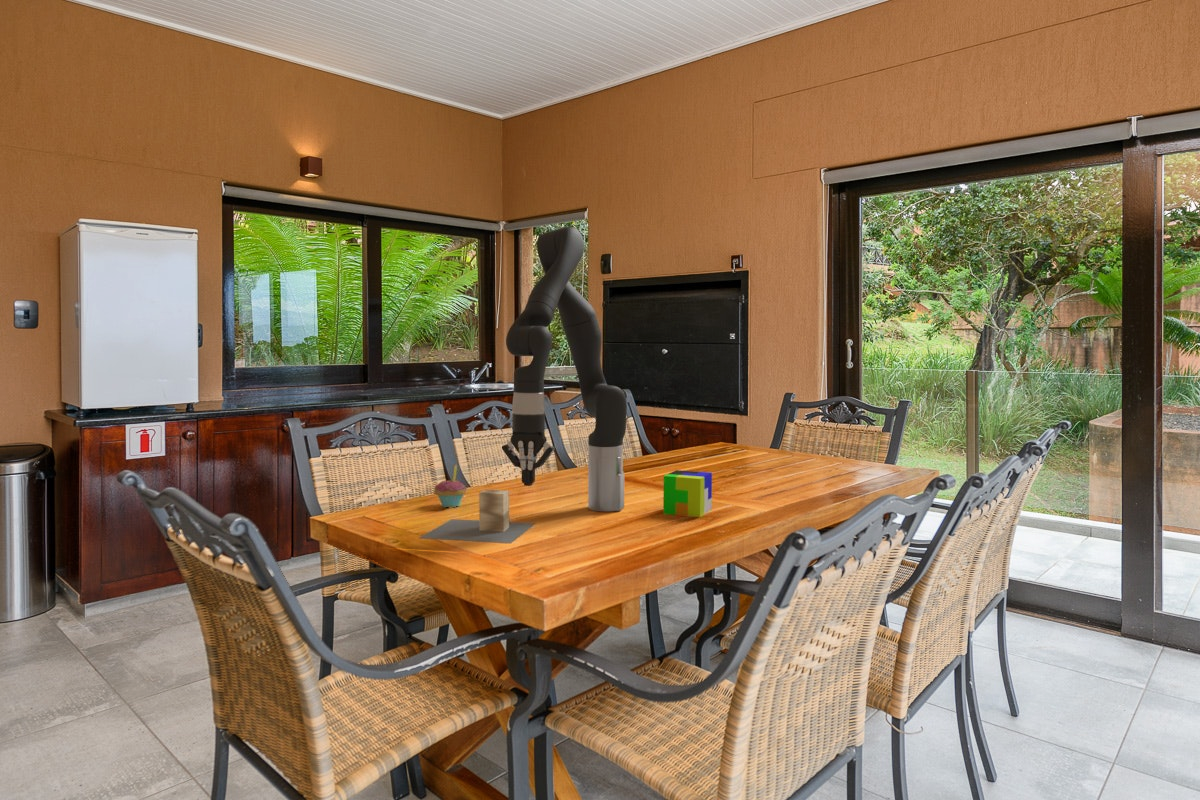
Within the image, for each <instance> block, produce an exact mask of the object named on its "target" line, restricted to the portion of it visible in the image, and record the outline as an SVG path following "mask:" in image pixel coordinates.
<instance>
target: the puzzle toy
mask: <svg viewBox="0 0 1200 800" xmlns="http://www.w3.org/2000/svg"><path fill="white" fill-rule="evenodd" d="M712 480H713V473H712V472H705V471H692V470H679V469H676V470H673V471H672V472H669V473H668V474H665V475H663V503H662V504H663V507H662V508H663V512H662V513H663V514H664V515H673V516H674V515H675V516H684V517H685V516H686V517H694V518H701V517H703V516H705V515H706V514H707V513H709V512H710V511H712V510H713V509H712V501H713V500H712V499H713V498H712V497H713V495H712V494H713V493H712V492H713V491H712V490H713V489H712V488H713V486H712V485H713V481H712Z"/></svg>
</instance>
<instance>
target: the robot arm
mask: <svg viewBox="0 0 1200 800" xmlns="http://www.w3.org/2000/svg"><path fill="white" fill-rule="evenodd" d="M536 251H537V256H538V258H539V261H540V264H541V266H542V270H543V272H544V275H543V276H542V277H541V278H540V279H539V280H538V281H537V283H536V284H535V285H534V286H533V288H532V290H531V292H530V294H529V297H528V298H527V302H526V305H525V307H524V309H523V311H522V312H521V313H519V316H518V317H517V318H516V319H515V320H514V321H513V323H512V325H511V326H510V327H509V328H508V331H507V334H506V336H505V337H506V338H505V345H506V349H507V350H508V352H509V353H510V354H511V355H512V356H516V357H532V360H531V361H530V363H529V364H528V365H522V366H519V367H517V368H515V370H514V372H513V396H512V406H511V411H512V416H511V417H512V425H511V427H512V430H511V431H512V435H511V436H510V439H509V442H507V443H506V444H503V445H502V446H501V450H502V451H503V452H504V454H505V455H506V456H507V458H508V459H509V461H510V462H511V463H512V465H513V466H514V467H515V468H519V469H520V470H521V483H522V484H523V485H524V486H526V487H531V486H533V484H534V483H535V481H536V469H539V468H541V467H542V466H544V464H545V463H547V460H548V459H549V458H550V456H551V455H552V454H553V453H554V452H555V450H556V447H555V446H554V445H551V444H549V442H547V437H546V434H545V430H546V428H545V427H546V426H545V423H546V422H545V421H546V418H545V417H546V403H545V401H546V399H545V374H546V373H545V372H546V368H547V363H548V360H549V356H550V353H551V350H552V345H553V338H552V337H553V336H552V333H551V331H550V329H549V328H547V327H549V326H550V325H551V323H552V321H553V318H554V316H555V313H556V309H557V310H558V313H559V317H560V321H561V325H562V328H563V331H564V335H565V338H566V341H567V344H568V347H569V351H570V354H571V357H572V360H573V363H574V367H575V370H576V373H577V378H578V384H579V389H580V393H581V394H580V395H581V398H582V404H583V407H584V409H585V411H586V412H587V414H588V415H590V417H593V418H595V425H594V426H595V427H594V429H593V431H592V432H591V433H589V434H588V441H587V442H588V445H587V446H588V452H587V453H588V461H587V463H588V465H587V466H588V478H587V479H588V481H587V482H588V487H587V489H588V490H587V492H588V499H587V502H588V505H587V507H588V509H589V510H591V511H595V512H621V511H622V510H623V508H624V507H625V471H623V469H624V467H623V464H624V462H623V461H624V460H623V457H624V453H623V447H624V446H623V445H624V437H625V434H626V432H627V414H628V405H627V404H628V403H627V397H626V395H625V392H624V391H623V390H622V389H621V388H620V387H618V386H616V385H610V384H608V383H607V381H606V378H605V375H604V373H603V372H604V371H603V370H602V369H603V368H602V364H601V352H602V351H601V350H602V343H603V342H602V331H601V328H600V323H599V320H598V317H597V313H596V311H595V309H594V307H593V306H592V304H591V303H590V302H589V301H588V300H587V299H586V298H585V297H584V296H582V294H581V293H580V292H579V291H577V289H576V288H575V287H574V286H573V285H572V283H571V282H570V279H571V278H572V276H573V274H574V272H575V270H576V269H577V266H578V265H579V263H580V261H581V260H582V258H583V256H584V251H585V242H584V237H583V235H582V234H581V232H580V230H578V229H577V227H575V226H564V227H560V228H557V229H552V230H550V231H546V232H543V233H541V234H540V235H538V237H537V240H536ZM514 449H515V450H516V452H517V453H516V452H515V450H514ZM541 450H542V451H543V453H542V455H541V456H540V457H539V459H538V460H537V458H538V454H539V453H540V451H541ZM517 454H518V455H517Z"/></svg>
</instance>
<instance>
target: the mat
mask: <svg viewBox="0 0 1200 800" xmlns="http://www.w3.org/2000/svg"><path fill="white" fill-rule="evenodd" d="M536 524H537V523H534V522H517V521H516V522H515V521H514V522H512V521H509V528H508V529H507V530H505V531H504V532H499V531H481V530H480V526H479V519H478V520H477V519H476V520H475V519H459V518H458V519H457V518H456V519H455V518H452V519H450V520H448V521H446V522H444V523H442V524H441V525H439V526H437V527H436V528H433V529H431V531H429V532H426V533H425V534H423V535H421V536H419V537H418V539H426V540H427V539H428V540H443V541H444V540H445V541H458V542H459V541H463V542H476V543H477V542H478V543H479V542H480V543H481V542H482V543H493V544H494V543H497V544H512V543H514V542H515V541H516V540H517V539H518V538H520V537H521V536H522V535H523V534H525V533H527V531H529V530H531V528H532V527H534V526H535V525H536Z"/></svg>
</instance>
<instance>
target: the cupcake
mask: <svg viewBox="0 0 1200 800" xmlns="http://www.w3.org/2000/svg"><path fill="white" fill-rule="evenodd" d="M457 464H458V463H457V462H456V463H455V465H454V468H453V475H452V480H443V481H441V482H439V483H438V484H436V486H435V487H434V491H433V493H434V494H435V495H437V497H438V498H439V501H440V503H441V506H443V508H445V507H455V508H457V507H456V506H459V505H460V506H461V502H462V500H463V497H464V495H465V494H466V491H467V489H468V488H467V486H466V485H465V484H464V483H463V482H461V481H459V480H456V476H457V469H458V466H457ZM460 506H459V507H460Z"/></svg>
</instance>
